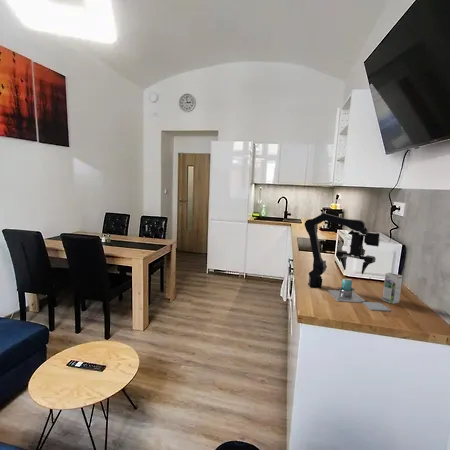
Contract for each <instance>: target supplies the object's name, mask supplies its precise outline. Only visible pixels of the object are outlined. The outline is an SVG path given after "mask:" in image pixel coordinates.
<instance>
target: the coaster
mask: <svg viewBox="0 0 450 450" xmlns="http://www.w3.org/2000/svg"><path fill="white" fill-rule="evenodd" d="M362 304H363V305H364V306H365V307H367V308H368V309H369V310H370V311H377V312H378V311H379V312H391V310H392V309H390V308H389V307H387V306H385V305H384V304H382V302H370V301H365V302H363V303H362Z"/></svg>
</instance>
